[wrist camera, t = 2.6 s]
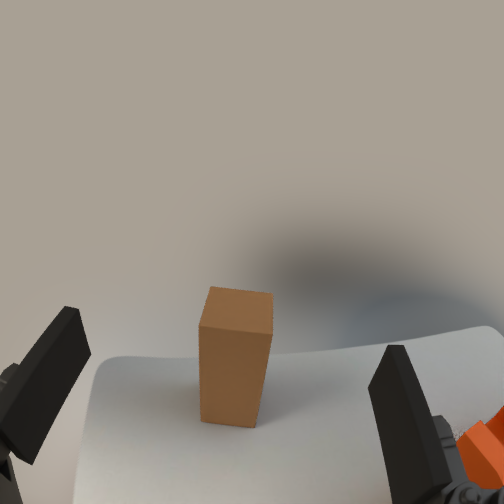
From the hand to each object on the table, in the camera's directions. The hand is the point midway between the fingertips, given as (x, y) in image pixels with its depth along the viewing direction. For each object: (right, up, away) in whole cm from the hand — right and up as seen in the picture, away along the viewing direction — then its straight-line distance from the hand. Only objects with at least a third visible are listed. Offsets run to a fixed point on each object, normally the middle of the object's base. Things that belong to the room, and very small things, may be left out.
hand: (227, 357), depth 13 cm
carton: (-1, -10, +16) cm, 19 cm away
